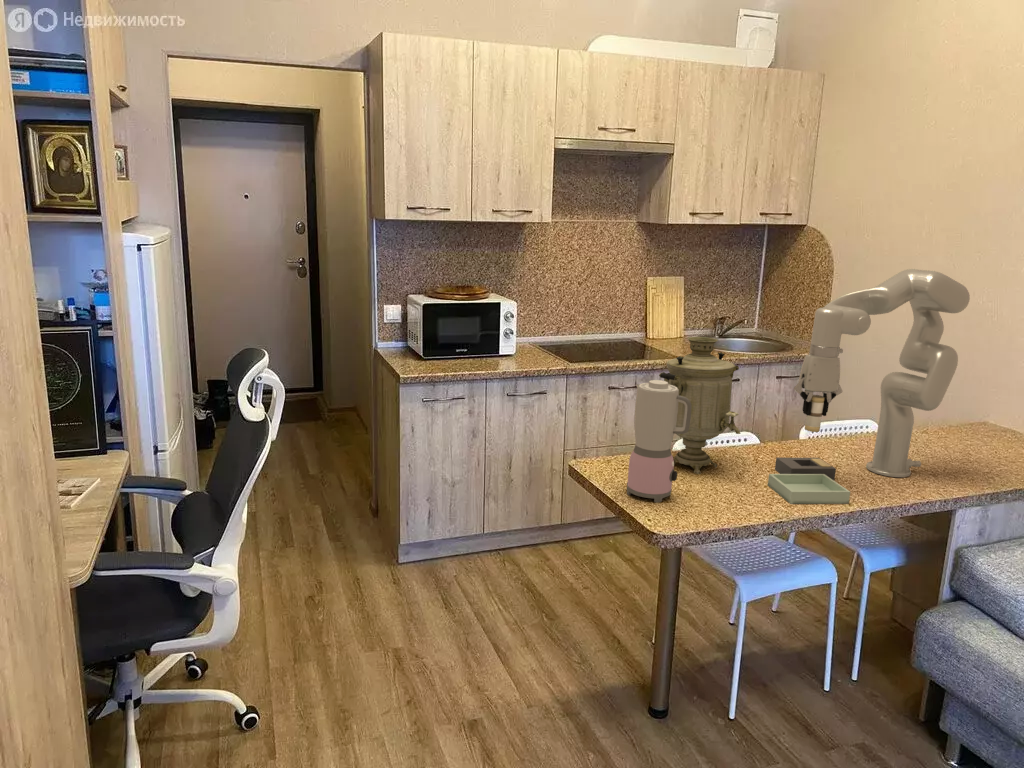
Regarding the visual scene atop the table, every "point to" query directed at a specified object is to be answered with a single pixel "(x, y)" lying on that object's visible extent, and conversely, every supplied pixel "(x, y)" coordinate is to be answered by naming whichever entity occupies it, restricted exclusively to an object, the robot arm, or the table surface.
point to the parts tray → (808, 489)
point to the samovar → (702, 398)
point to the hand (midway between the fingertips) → (814, 413)
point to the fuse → (815, 414)
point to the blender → (655, 439)
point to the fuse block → (804, 466)
